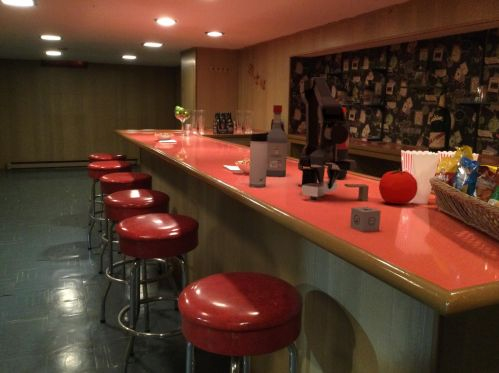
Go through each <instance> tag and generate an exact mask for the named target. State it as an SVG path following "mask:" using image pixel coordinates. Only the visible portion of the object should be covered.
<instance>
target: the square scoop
mask: <svg viewBox="0 0 499 373" xmlns="http://www.w3.org/2000/svg"><path fill="white" fill-rule="evenodd" d="M315 186H318V187H315ZM337 189H338V180H335V182H334V184H333V186H332V188H331V189H329V180H324V181H323V182H317V183H315V184H313V183H309V184H305V185H302V186H301V195H303V196H310V197H311V196H315V197H317V198H318V197H321V196H325V195H326V194H327V193H331V192H334V191H337Z"/></svg>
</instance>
